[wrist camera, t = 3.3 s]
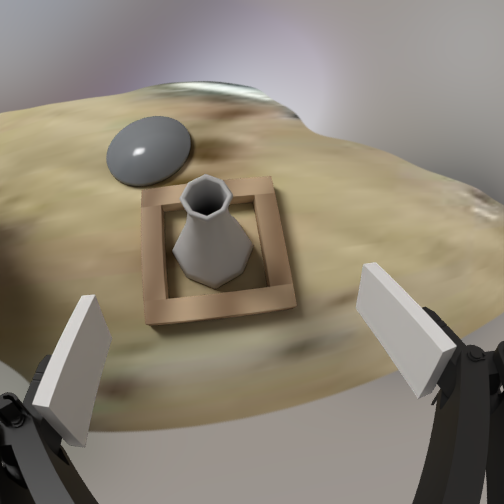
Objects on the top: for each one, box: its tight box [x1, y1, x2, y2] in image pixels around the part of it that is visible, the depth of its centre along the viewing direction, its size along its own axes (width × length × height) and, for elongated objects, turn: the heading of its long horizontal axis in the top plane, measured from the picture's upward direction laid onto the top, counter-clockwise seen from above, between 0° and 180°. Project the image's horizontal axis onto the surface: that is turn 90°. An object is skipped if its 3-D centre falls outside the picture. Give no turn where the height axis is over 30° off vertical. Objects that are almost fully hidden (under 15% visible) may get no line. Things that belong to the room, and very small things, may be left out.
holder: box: [141, 176, 297, 326], centre depth 27 cm, size 13×13×2 cm
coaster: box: [107, 116, 191, 186], centre depth 30 cm, size 10×10×1 cm
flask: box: [172, 174, 254, 289], centre depth 23 cm, size 7×7×10 cm
